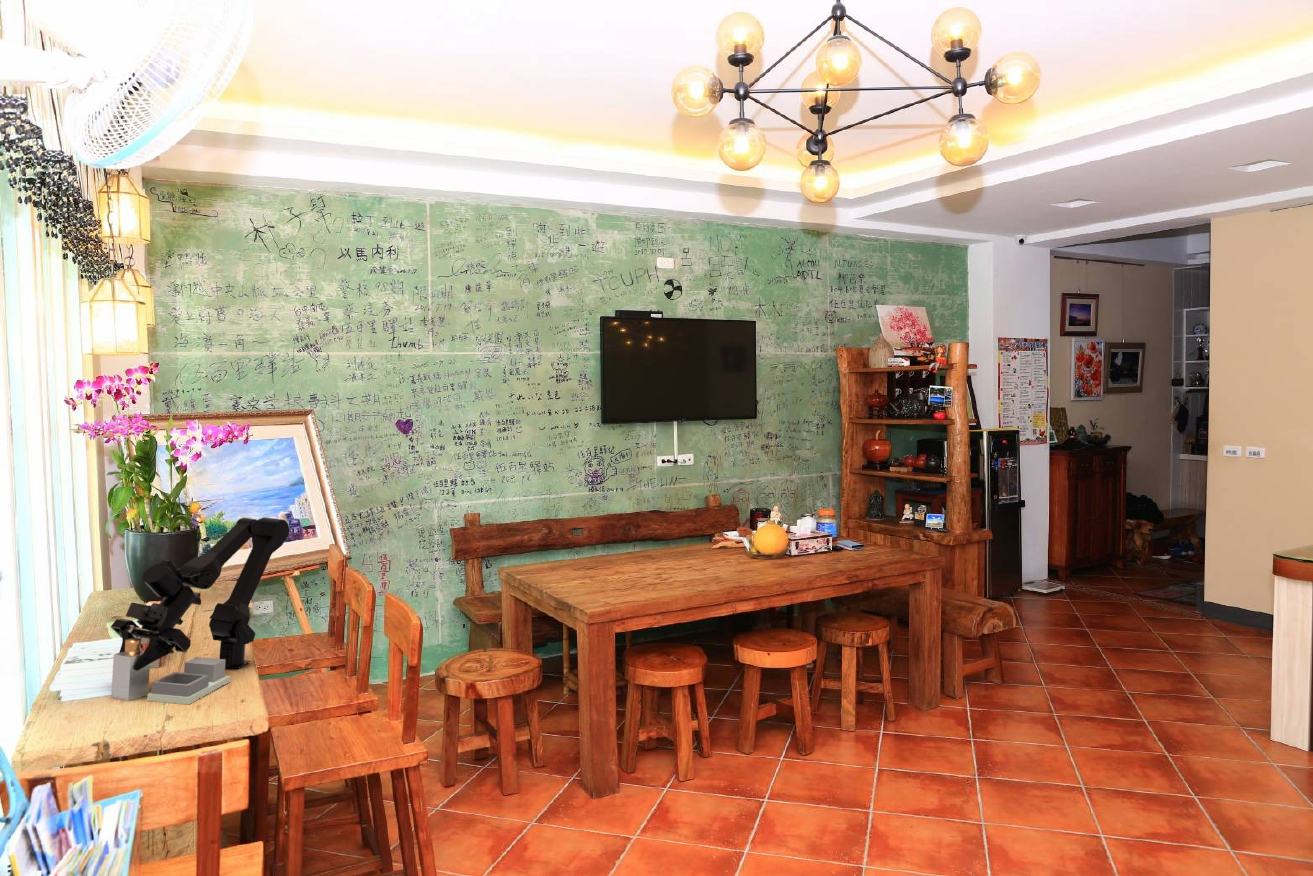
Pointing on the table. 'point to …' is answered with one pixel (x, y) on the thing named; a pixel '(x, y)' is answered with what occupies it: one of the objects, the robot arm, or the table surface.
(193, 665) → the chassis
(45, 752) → the table surface
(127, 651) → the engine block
